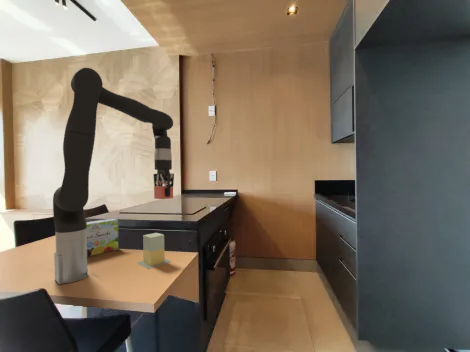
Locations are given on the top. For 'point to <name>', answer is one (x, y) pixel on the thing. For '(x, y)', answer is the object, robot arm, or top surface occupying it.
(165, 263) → the baseplate
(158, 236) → the brick sage
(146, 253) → the brick mustard
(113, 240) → the snack box
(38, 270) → the top surface
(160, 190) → the brick red
